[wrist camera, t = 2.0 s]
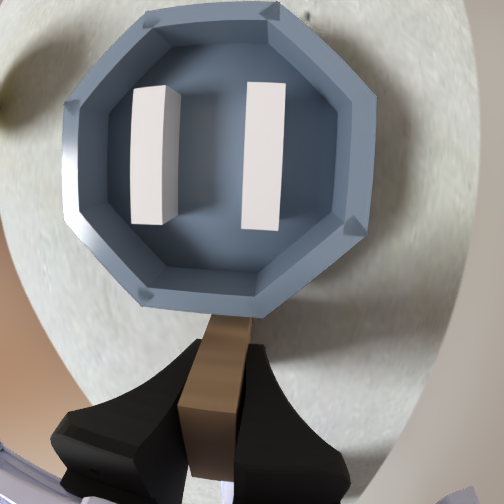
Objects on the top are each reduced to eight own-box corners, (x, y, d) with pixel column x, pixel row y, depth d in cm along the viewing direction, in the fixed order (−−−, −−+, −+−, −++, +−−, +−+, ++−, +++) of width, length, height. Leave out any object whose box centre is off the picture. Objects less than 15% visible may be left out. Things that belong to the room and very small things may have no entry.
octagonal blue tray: (337, 288, 13) (352, 322, 10) (107, 271, 14) (74, 297, 11) (353, 42, 10) (374, 14, 7) (109, 49, 10) (74, 30, 7)
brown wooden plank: (250, 365, 15) (235, 482, 8) (220, 362, 15) (191, 476, 8) (253, 295, 13) (235, 413, 7) (220, 292, 13) (177, 405, 7)
